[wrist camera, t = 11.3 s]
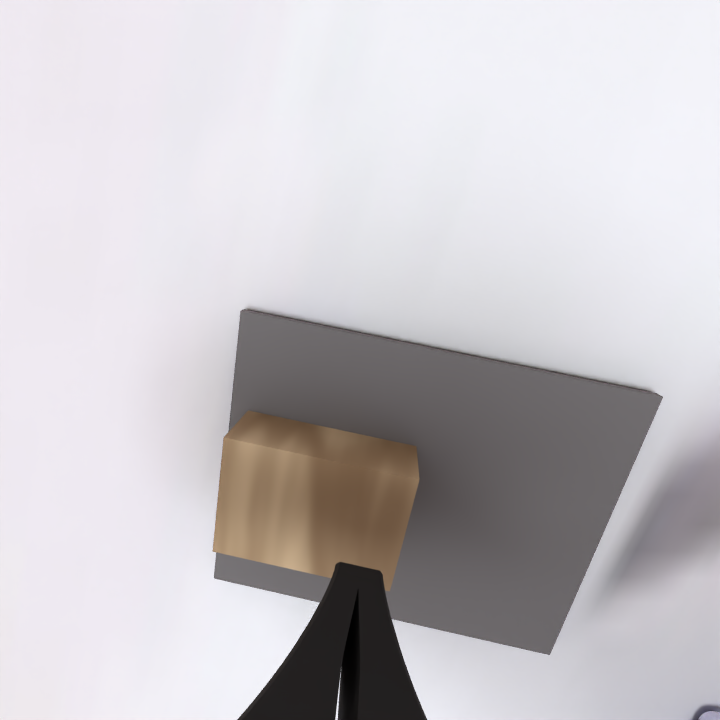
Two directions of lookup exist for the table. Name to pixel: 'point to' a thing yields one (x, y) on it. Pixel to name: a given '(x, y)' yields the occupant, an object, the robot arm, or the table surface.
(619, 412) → the mat
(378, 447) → the block
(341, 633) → the robot arm
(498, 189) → the table surface
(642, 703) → the table surface
